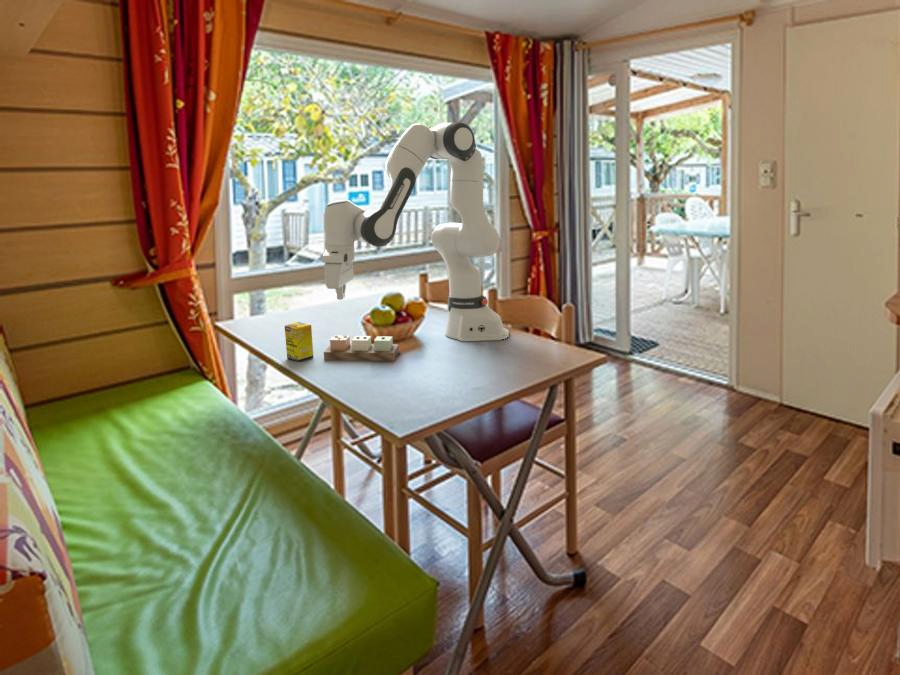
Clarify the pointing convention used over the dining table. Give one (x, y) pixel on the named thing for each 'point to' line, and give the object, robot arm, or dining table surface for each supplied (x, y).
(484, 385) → the dining table surface
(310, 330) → the supplement box
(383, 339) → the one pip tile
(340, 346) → the three pip tile
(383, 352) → the button board
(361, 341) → the two pip tile
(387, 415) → the dining table surface
